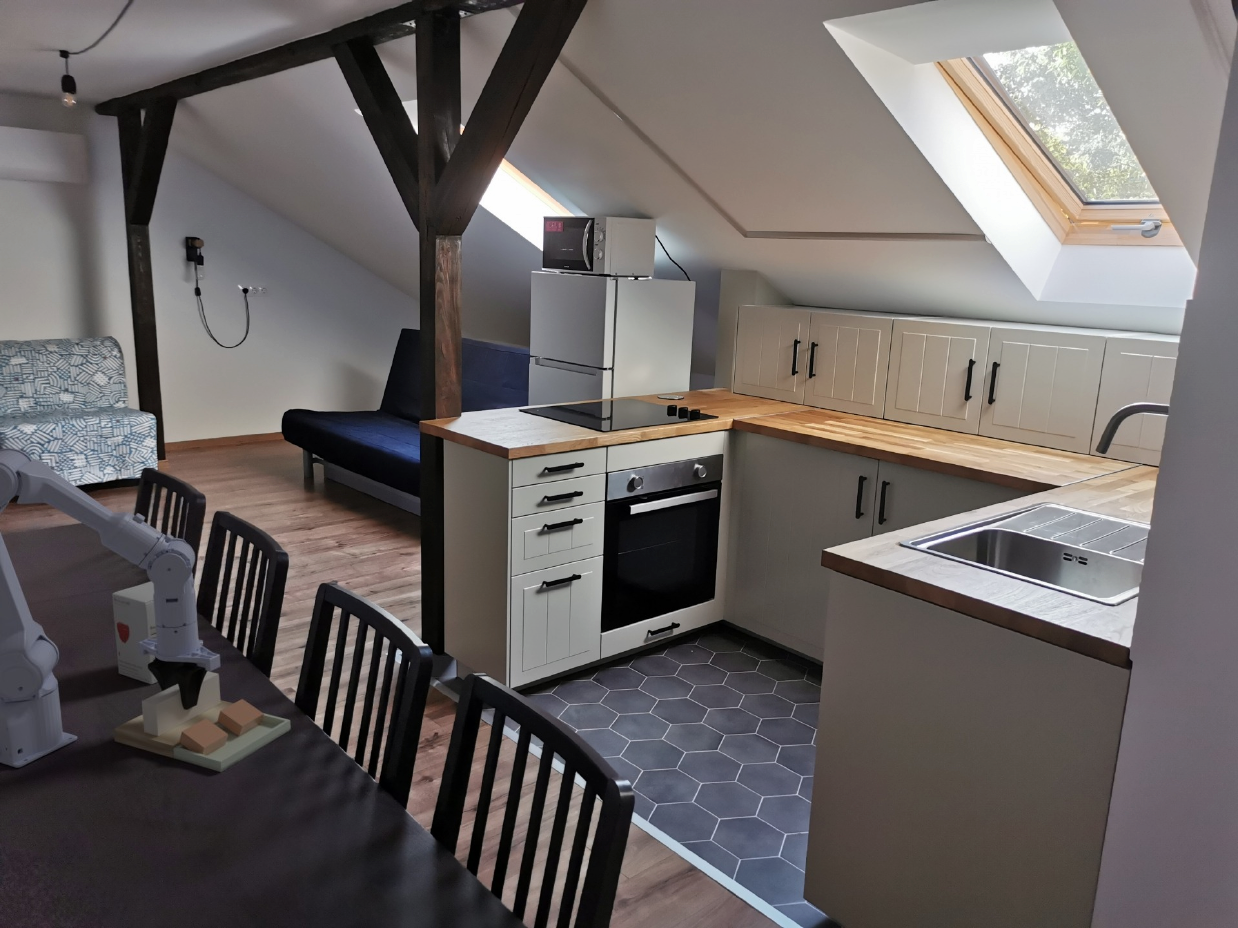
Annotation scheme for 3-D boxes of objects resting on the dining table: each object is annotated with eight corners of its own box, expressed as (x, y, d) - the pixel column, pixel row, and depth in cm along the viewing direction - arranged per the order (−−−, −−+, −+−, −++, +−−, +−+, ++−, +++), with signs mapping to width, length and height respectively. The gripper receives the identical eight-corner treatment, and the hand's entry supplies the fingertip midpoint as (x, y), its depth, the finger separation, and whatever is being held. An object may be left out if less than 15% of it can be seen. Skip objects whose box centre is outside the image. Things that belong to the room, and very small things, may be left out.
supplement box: (116, 674, 164) (109, 592, 161) (162, 656, 172) (156, 578, 169) (150, 685, 160) (144, 602, 157) (196, 667, 168) (190, 587, 165)
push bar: (158, 736, 139) (155, 704, 138) (144, 732, 140) (141, 700, 139) (220, 703, 150) (218, 673, 149) (207, 699, 151) (205, 670, 150)
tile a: (201, 758, 136) (204, 747, 136) (178, 741, 138) (181, 731, 137) (225, 744, 140) (228, 734, 140) (203, 728, 142) (206, 718, 141)
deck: (174, 758, 137) (173, 745, 137) (114, 740, 141) (113, 728, 141) (245, 717, 150) (245, 706, 149) (189, 703, 154) (188, 691, 154)
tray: (221, 771, 134) (220, 761, 133) (174, 758, 137) (173, 748, 137) (290, 729, 146) (290, 719, 146) (245, 717, 150) (245, 708, 149)
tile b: (239, 736, 143) (242, 726, 142) (217, 720, 144) (220, 710, 144) (260, 723, 147) (263, 713, 146) (239, 708, 148) (242, 698, 148)
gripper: (233, 620, 143) (238, 703, 145) (162, 605, 148) (168, 685, 151) (196, 636, 136) (202, 722, 139) (123, 619, 142) (131, 703, 144)
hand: (182, 704), depth 145 cm, fingers closed on push bar, 3 cm apart
